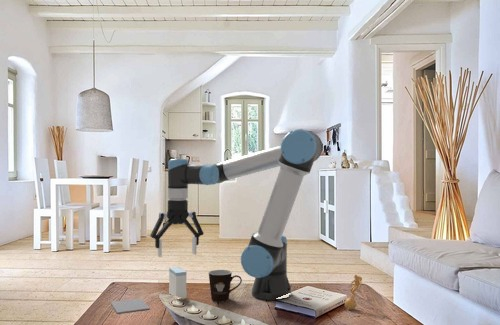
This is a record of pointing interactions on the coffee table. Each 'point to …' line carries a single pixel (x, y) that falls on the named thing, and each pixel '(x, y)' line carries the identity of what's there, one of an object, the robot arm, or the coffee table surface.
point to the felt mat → (129, 305)
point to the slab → (177, 282)
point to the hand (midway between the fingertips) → (177, 255)
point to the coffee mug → (221, 284)
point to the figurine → (350, 302)
